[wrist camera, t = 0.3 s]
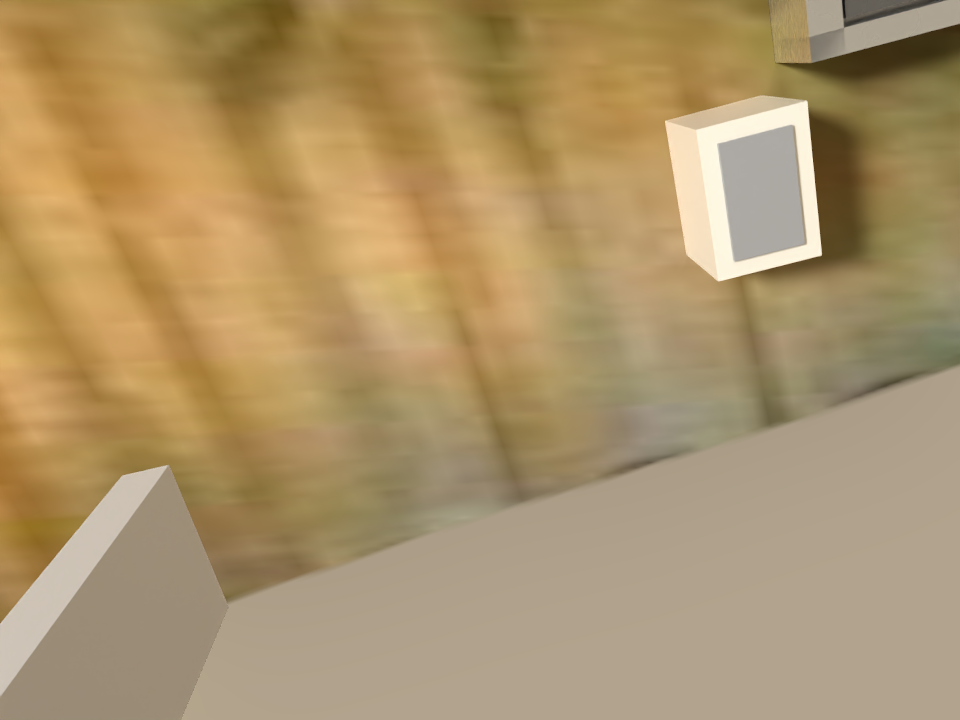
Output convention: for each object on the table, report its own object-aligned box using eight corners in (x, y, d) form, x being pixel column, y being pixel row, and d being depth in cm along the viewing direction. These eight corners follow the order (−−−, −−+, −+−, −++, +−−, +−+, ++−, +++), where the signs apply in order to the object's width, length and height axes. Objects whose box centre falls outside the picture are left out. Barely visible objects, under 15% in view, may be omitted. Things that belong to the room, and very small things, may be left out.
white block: (664, 120, 36) (697, 130, 31) (761, 95, 36) (809, 101, 31) (686, 254, 38) (719, 282, 34) (776, 231, 38) (824, 256, 33)
